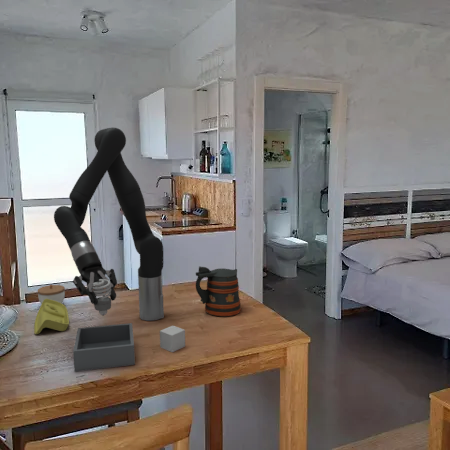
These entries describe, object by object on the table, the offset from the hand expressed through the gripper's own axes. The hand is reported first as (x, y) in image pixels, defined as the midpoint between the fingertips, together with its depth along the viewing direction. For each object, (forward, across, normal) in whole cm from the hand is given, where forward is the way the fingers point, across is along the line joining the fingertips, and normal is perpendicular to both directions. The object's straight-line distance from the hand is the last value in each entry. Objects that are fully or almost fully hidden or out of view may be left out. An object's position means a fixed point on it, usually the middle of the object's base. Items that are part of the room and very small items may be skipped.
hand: (105, 301), depth 144 cm
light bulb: (+3, 0, +5) cm, 6 cm away
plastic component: (-14, -2, +41) cm, 44 cm away
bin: (+12, 0, +14) cm, 19 cm away
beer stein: (+10, +53, +16) cm, 56 cm away
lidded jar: (-27, +6, +55) cm, 62 cm away
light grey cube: (+19, +20, +7) cm, 29 cm away
